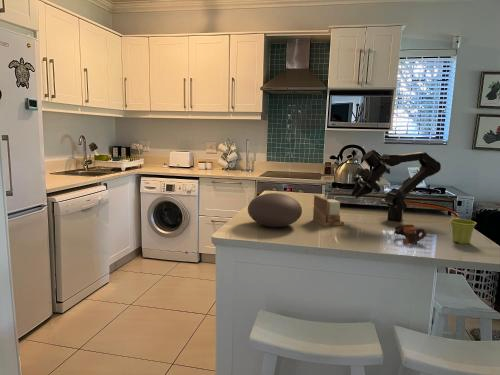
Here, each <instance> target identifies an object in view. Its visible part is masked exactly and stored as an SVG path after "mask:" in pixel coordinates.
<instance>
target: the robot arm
mask: <svg viewBox="0 0 500 375" xmlns="http://www.w3.org/2000/svg"><path fill="white" fill-rule="evenodd" d="M362 160H363V161H364V162H365V163H366V165H368V167H369V168H372V169H369V168H361V167H356V169H355V171H354V174H355V175H356V176H352V178H350V179H351V181H352V182H353V183H354V187H353V190H352V191H351V193H350V196H351V197H355V198H356V199H358V198H360V197H363V196H365V195H369V194H373V191H374V193H376V194H379V192H381V186H380V185H379V184H378V183H377V182H380V181H381V177H382V176H383V175H384V174H388V175H390V174H391V168H389V167H395V166H399V165H400V164H402V163H408V162H415V161H416V162H417V161H418V163H419V165H420V168H419V170H418V171H417V172H416V173H415V174H414V175H413V176H412V177H410V178H409V179H408V180H407V181H406V182H404V184H403V185H401V186H400V187H399V188H395V187H392V188H391V189H390V191H387V192H386V195H385V197H384V198H385V202H386V205H387V206H388V207H389V209H388V210H387V220H388V221H395V222H402V221H403V220H404V210H406V209H407V207H408V205H407V204H406V202H405V200H406V197H407V196H408V194H410V192H412V191H413V190H414V189H415V188H417V187H418V186H419V185H421V183H422V182H423V181H424V180H426V179H427V178H429V177H432V176H434V175H436V174H437V173H439V172H440V171H441V169H442V165H441V163H440V161H437V160H436V159H435V158H433V157H431V156H430V155H429V154H428V153H427V152H426V151H417V152H411V153H401V154H394V153H393V154H392V153H384V154H382V155H381V156H380V155H379V154H378V153H377V151H376V150H375V149H371V150H369V151H368V152H366V153H364V154H363V156H362ZM387 166H388V167H387ZM357 175H358V176H357ZM359 176H360V177H359Z"/></svg>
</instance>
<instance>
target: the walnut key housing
mask: <svg viewBox="0 0 500 375" xmlns="http://www.w3.org/2000/svg"><path fill="white" fill-rule="evenodd" d="M312 211H313V214H312V215H313V216H312V220H313V221H314V222H316V223H317V224H319V225H321V226H322V227H333V226H344V225H345V221H342V220H341V215H340V214H339V215H327V219H326V212H327V198H324V197H321V196H319V195H317V194H314V196H313V210H312Z"/></svg>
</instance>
